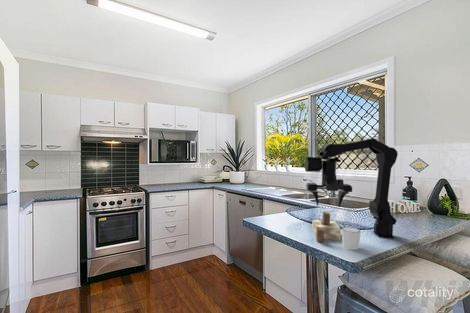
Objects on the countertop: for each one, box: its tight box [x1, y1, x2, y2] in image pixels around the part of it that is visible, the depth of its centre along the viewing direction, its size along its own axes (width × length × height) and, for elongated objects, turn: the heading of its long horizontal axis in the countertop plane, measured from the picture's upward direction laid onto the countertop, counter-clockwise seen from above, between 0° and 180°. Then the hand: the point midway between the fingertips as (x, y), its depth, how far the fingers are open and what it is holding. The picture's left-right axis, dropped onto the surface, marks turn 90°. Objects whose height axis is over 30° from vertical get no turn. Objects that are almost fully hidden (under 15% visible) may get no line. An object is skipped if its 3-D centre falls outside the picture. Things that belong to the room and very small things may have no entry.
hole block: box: [311, 219, 342, 240], centre depth 109 cm, size 10×10×5 cm
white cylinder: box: [341, 226, 362, 251], centre depth 96 cm, size 7×7×7 cm
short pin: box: [315, 228, 325, 243], centre depth 102 cm, size 3×3×5 cm
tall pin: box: [322, 211, 331, 225], centre depth 109 cm, size 3×3×10 cm
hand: (328, 206), depth 110 cm, fingers open, 9 cm apart
